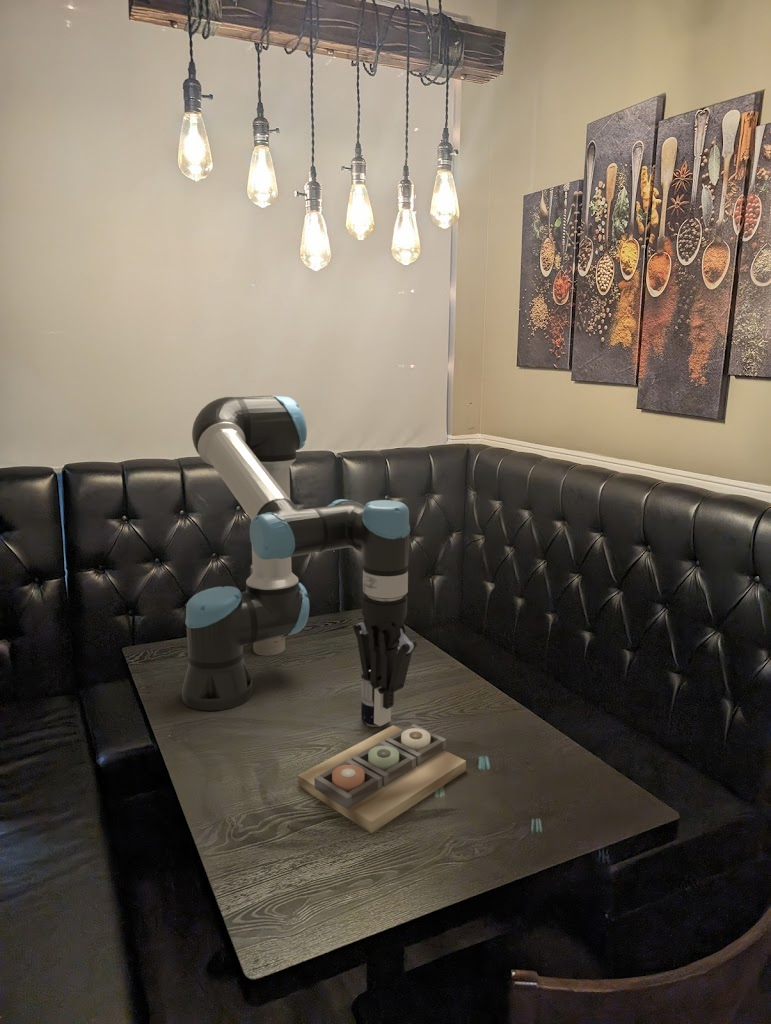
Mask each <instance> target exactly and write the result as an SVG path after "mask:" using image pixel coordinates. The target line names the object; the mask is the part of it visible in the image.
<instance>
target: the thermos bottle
mask: <svg viewBox="0 0 771 1024" xmlns="http://www.w3.org/2000/svg"><path fill="white" fill-rule="evenodd" d="M252 573H253V565H252V564H250V576H251V575H252ZM252 645H253V647H252V649H253V652H254V654H256V655H258V656H266V657H267V656H276V655H279V654H281V653H283V652H284V651H285V650H286V637H284V638H276V639H272V640H267V641H262V642H258V643H253V644H252Z"/></svg>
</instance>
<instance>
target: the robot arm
mask: <svg viewBox="0 0 771 1024" xmlns="http://www.w3.org/2000/svg"><path fill="white" fill-rule="evenodd" d="M306 424H307V423H306V419H305V416H304V414H303V410H302V409H301V407H300V405H299V404H298V403H297V401H296V400H294V399H293V398H292V397H289V396H284V395H283V396H281V395H257V396H255V395H254V396H224V397H220V398H216V399H215V400H212V401H211V402H209V403H207V404H206V405H205V406H204V407H203V408H202V409H201V410H200V411H199V412H198V414H197V416H196V418H195V420H194V422H193V425H192V431H191V438H192V443H193V446H194V448H195V451H196V452H197V454H198V455H199V457H200V458H201V460H202V461H203V462H204V463H205V464H208V465H211V466H213V468H214V469H215V471H216V472H217V474H219V476H220V477H221V479H222V480H223V482H224V483H225V485H226V486H227V487H228V489H229V490H230V492H231V494H232V495H233V496H234V497H235V499H236V500H237V501H238V503H239V506H241V507H242V509H243V510H244V512H245V513H246V515H247V516H248V518H249V519H250V524H249V540H250V543H251V559H252V561H251V562H252V563H251V565H253V573H252V575H251V574H250V575H249V577H247V578H246V580H245V582H246V583H245V587H246V589H245V591H241V590H240V589H239V588H238V587H236V586H229V585H228V586H227V585H225V586H214V587H211V588H206V589H205V590H202V591H201V590H200V592H197V593H196V594H194V595H193V596H191V597H190V598H189V600H188V601H187V602H186V607H185V608H186V609H185V620H184V622H185V626H186V640H187V641H186V642H187V655H188V656H187V658H188V666H187V669H186V673H185V676H184V680H183V683H182V687H181V700H182V702H183V703H184V705H186V706H187V707H188V708H191V709H194V710H199V711H220V710H221V711H222V710H226V709H228V710H229V709H231V708H234V707H237V706H239V705H243V703H245V702H246V701H248V700H249V699H250V698H251V697H252V695H253V680H252V677H251V676H250V675H251V674H250V673H249V670H248V667H247V665H246V663H245V659H244V646H247V645H253V643H258V642H262V641H267V640H272V639H276V638H284V637H285V638H287V637H289V636H291V635H295V634H298V633H299V632H301V631H303V630H302V629H304V628H305V626H306V624H307V622H308V619H309V615H310V598H309V597H308V591H307V589H306V587H305V586H304V585H303V584H302V583H301V582H299V577H298V576H297V575H295V573H293V572H292V571H293V570H292V557H297V556H303V555H304V556H305V555H310V554H313V553H320V552H327V551H334V550H335V551H336V550H341V549H346V548H352V549H354V550H356V551H359V552H362V592H363V595H362V597H361V598H362V601H361V602H362V605H361V607H362V608H361V610H362V611H361V612H362V616H363V621H361V622H359V623H356V624H354V625H352V627H353V628H352V629H353V631H354V633H355V634H354V635H355V637H356V640H357V646H358V647H357V648H358V651H359V652H358V653H359V658H360V664H361V665H360V666H361V672H363V678H364V679H365V680H369V681H370V684H371V686H372V701H373V703H374V723H375V724H376V725H378V726H379V727H382V726H384V725H387V724H388V723H390V722H391V721H392V718H391V717H392V707H394V703H395V701H394V700H395V699H394V697H395V692H397V691H400V690H402V689H403V688H404V686H405V683H406V678H407V674H408V671H409V668H410V667H409V666H410V662H411V658H412V655H413V652H415V649H416V648H417V646H418V644H417V642H416V641H415V640H410V639H409V638H408V637H407V635H406V631H407V630H406V627H405V624H404V623H405V620H406V617H407V615H408V596H407V594H408V592H409V589H408V588H409V586H408V585H409V568H408V567H409V556H410V555H409V552H410V550H409V549H410V532H411V525H410V510H409V507H408V506H407V505H406V504H405V503H403V502H401V501H398V500H397V501H394V500H390V499H389V500H388V499H380V500H379V499H378V500H372V501H368V502H366V504H365V505H363V504H362V503H360V502H358V501H354V500H351V499H343V498H340V499H336V500H334V501H333V502H331V503H329V504H328V505H327V506H322V507H321V506H320V507H312V508H311V507H310V508H303V509H299V508H298V507H297V506H296V505H295V504H294V502H293V501H292V500H291V481H290V480H291V479H290V477H291V476H290V474H291V473H290V468H291V466H292V464H293V463H295V461H296V460H297V451H300V450H301V449H302V448H303V447H304V446H305V444H306V441H307V436H308V434H307V433H308V430H307V425H306ZM369 670H371V671H370V672H369Z"/></svg>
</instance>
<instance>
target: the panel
mask: <svg viewBox="0 0 771 1024" xmlns="http://www.w3.org/2000/svg"><path fill="white" fill-rule="evenodd" d="M412 728H418V729H423V730H426V731H427V732H429V734H430V736H431V738H430V745H428V746H427V747H425V748H423V749H421V750H420V751H418V752H416V751H414V750H412V749H410V748H408V747H406V746H405V745H403V744H401V734H402V732H404V731H405V730H407V729H412ZM377 746H390V747H393V748H395V749H397V750H398V752H399V763H398V764H396V765H394V766H393V767H391V768H389V769H387V770H386V771H382V770H381V769H379V768H377V767H375V766H373V765H372V764H370V763H368V753H369V751H370V750H371V749H372V748H374V747H377ZM342 765H356V766H359V767H360V768H362V769H363V770H364V784H362V785H360V786H358V787H357V788H355V789H353V790H352V791H350V792H348V793H347V792H345V791H343V790H342V789H340V788H339V787H337V786H335V785H334V784H332V772H333V771H334V769H336V768H337V767H339V766H342ZM466 771H467V760H465V759H464V758H461V757H459V756H458V755H455V754H453V753H451V752H449V751H447V738H444V737H442V736H440V735H438V734H437V733H434V732H432V731H430V730H428V729H426V728H424V727H421V726H419V725H417V724H415V723H413V724H411V725H409V726H408V727H406V728H404V729H402V728H400V727H398V726H396V725H394V724H392V725H390V726H389V727H386V728H385V729H383V730H381V731H379V732H377V733H375V734H373V735H372V736H370V737H367V738H366V739H364V740H362V741H360V742H358V743H356V744H355V745H352V746H351V747H349V748H347V749H345V750H343V751H340V752H339V753H337V754H335V755H334V756H332V757H330V758H328V759H325V760H324V761H322V762H320V763H318V764H317V765H315V766H313V767H311V768H308V770H307V769H306V771H304V772H302V773H300V774H298V775H297V782H298V783H297V785H298V787H300V788H301V789H303V790H304V791H306V792H307V793H308V794H310V795H312V796H314V797H315V798H316V799H318V800H320V801H322V802H323V803H324V804H326V805H327V806H329V807H331V808H332V809H333V810H335V811H337V812H338V813H340V814H341V815H342V816H344V817H346V818H347V819H349V820H350V821H352V822H353V823H355V824H356V825H358V826H359V827H361V828H363V829H364V830H365V831H366V832H369V833H371V834H373V833H374V832H376V831H378V830H379V829H380V828H382V827H384V826H386V824H388V823H389V822H391V821H392V820H394V819H395V818H397V817H399V816H400V815H402V814H404V813H405V812H406V811H407V810H409V809H410V808H412V807H413V806H415V805H417V804H418V803H419V802H421V801H423V800H424V799H425V798H427V797H429V796H430V795H432V794H433V793H434V792H436V791H437V790H439V789H440V788H442V787H444V786H445V785H446V784H448V783H450V782H451V781H453V780H454V779H456V778H458V777H459V776H460V775H462V774H463V773H465V772H466Z"/></svg>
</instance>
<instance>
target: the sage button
mask: <svg viewBox="0 0 771 1024" xmlns="http://www.w3.org/2000/svg"><path fill="white" fill-rule="evenodd" d="M368 763H370V764H372V765H373V766H375V767H377V768H379V769H381V770H382V771H386V770H387V769H389V768H391V767H393V766H394V765H396V764H398V763H399V752H398V750H397V749H395V748H393V747H390V746H377V747H374V748H372V749H371V750H370V751H369V753H368Z"/></svg>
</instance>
